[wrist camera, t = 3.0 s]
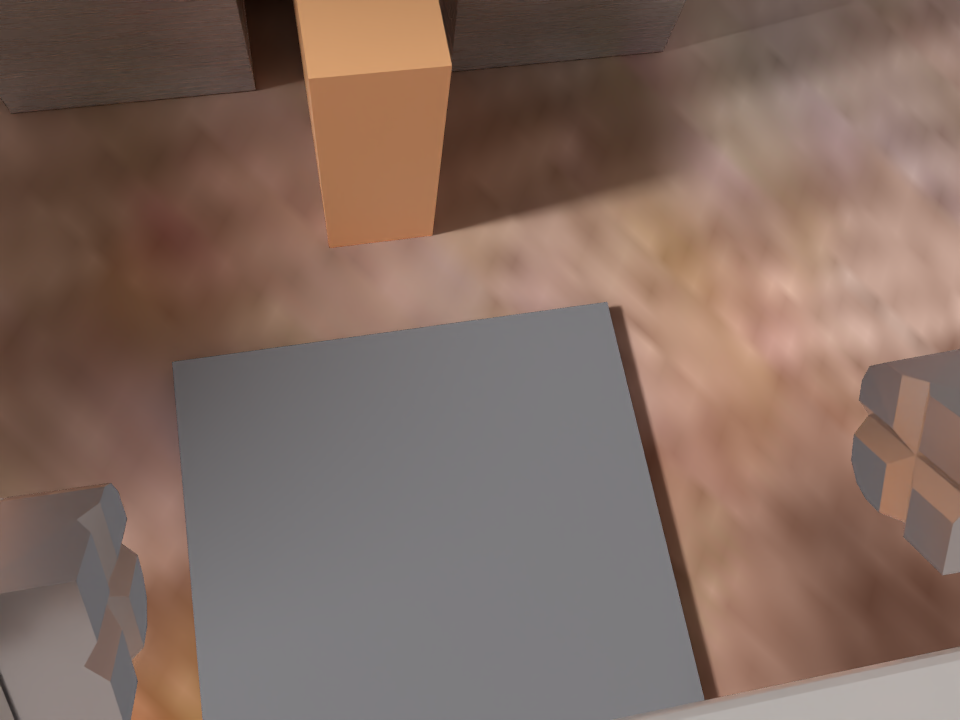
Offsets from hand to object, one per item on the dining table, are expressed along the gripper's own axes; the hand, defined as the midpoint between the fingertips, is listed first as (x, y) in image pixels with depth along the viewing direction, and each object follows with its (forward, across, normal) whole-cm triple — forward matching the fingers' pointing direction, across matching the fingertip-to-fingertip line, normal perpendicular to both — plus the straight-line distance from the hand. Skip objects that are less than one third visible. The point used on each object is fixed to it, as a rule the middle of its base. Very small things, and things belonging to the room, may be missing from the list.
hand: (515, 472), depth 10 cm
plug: (+22, 0, -1) cm, 22 cm away
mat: (+11, 0, +10) cm, 14 cm away
